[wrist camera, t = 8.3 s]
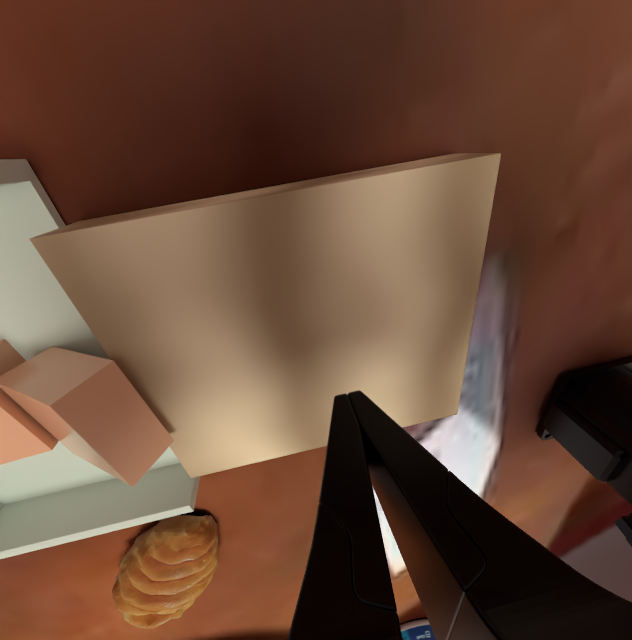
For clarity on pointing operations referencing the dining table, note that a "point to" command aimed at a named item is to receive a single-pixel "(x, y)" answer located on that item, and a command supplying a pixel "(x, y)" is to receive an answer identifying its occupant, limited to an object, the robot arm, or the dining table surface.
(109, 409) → the tile
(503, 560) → the robot arm
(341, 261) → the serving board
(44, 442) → the tile
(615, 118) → the dining table surface
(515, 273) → the dining table surface
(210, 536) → the pastry
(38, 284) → the tray
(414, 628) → the beverage bottle
